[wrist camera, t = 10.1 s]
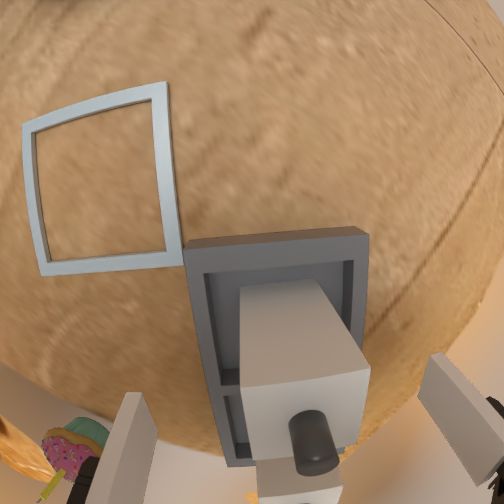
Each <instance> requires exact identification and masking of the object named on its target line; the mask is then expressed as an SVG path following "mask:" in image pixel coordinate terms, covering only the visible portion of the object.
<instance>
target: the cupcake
mask: <svg viewBox="0 0 504 504" xmlns="http://www.w3.org/2000/svg"><path fill="white" fill-rule="evenodd" d="M109 434H110V432H109V431H108V430H107V429H106V428H105V427H104V426H102V425H101V424H99V423H98V422H96V421H94V420H92V419H89V418H85V417H78V418H76V419H74V420H73V421H72V422H71V423H69V424H68V425H67V426H66V427H64V428H53V429H51V430H48V432H47V433H46V435H45V436H44V439H43V440H42V445H41V447H43V450H44V454H45V456H46V459H47V460H48V461H50V462H49V463H50V464H51V465H52V467H53V468H54V469H55V470H56V472H57V473H56V475H55V476H54V477H53V479H52V480H51V481H50V483H49V484H48V485H47V487H46V488H45V489H44V491H43V492H42V493H41V495H40V496H39V497H40V499H39V500H38V501H37V502H36V503H39V502H40V501H41V500H44V501H45V500H46V499H47V498H48V496H49V495H50V493H51V492H52V491H53V489H54V488H55V487H56V485H57V484H58V483H59V481H60V480H61V479H62V477H63V478H65V479H66V480H68V481H71V482H73V483H75V479H76V477H77V476H78V472H79V469H80V467H81V464H82V463H83V462H84V461H85V460H86V459H87V458H88V457H89V456H94V457H99V458H101V455H102V453H103V450H104V447H105V445H106V442H107V439H108V437H109Z"/></svg>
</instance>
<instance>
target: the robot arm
mask: <svg viewBox="0 0 504 504" xmlns="http://www.w3.org/2000/svg"><path fill="white" fill-rule="evenodd" d="M417 397H418V398H419V400H420V401H421V402H422V404H423V405H424V407H425V408H426V410H427V411H428V413H429V414H430V416H431V417H432V418H433V420H434V421H435V423H436V424H437V426H438V427H439V429H440V430H441V432H442V433H443V435H444V436H445V438H446V439H447V441H448V442H449V444H450V445H451V447H452V448H453V450H454V452H455V453H456V455H457V456H458V458H459V459H460V461H461V462H462V464H463V466H464V467H465V469H466V470H467V472H468V473H469V475H470V477H471V478H472V480H473V481H474V483H475V485H476V486H479V485H481V484H482V483H484V482H486V481H487V480H489V479H490V478H491V477H492V475H493V474H494V473H495V472H497V473H498V476H497V477H496V478H495V479H494V480H493V481H492V482H491V484H490V485H489V487H488V489H490V488H491V487H492V486H493V485H494V484H495V486H494V488H493V489H494V492H493V497H492V502H491V504H504V407H503V406H502V405H501V403H500V402H499V401H497V400H496V399H494V398H492V397H490V396H489V397H488V398H485V397H484V396H483V395H482V394H481V393H480V392H479V391H478V390H477V389H476V388H475V387H474V385H473V384H472V383H471V382H470V381H469V380H468V379H467V378H466V377H465V376H464V375H463V373H462V372H460V370H459V369H458V368H457V367H456V366H455V365H454V364H453V363H452V362H451V361H450V360H449V359H448V358H447V357H446V356H445V355H444V353H443V352H439V353H435V354H432V355H430V356H429V360H428V363H427V367H426V370H425V374H424V377H423V380H422V384H421V387H420V390H419V393H418V396H417ZM157 436H158V430H157V427H156V425H155V423H154V420H153V418H152V416H151V413H150V411H149V409H148V406H147V404H146V401H145V399H144V396H143V393H142V392H126V394H125V396H124V399H123V401H122V404H121V406H120V409H119V411H118V414H117V416H116V419H115V421H114V424H113V426H112V429H111V432H110V434H109V437H108V439H107V442H106V445H105V447H104V450H103V453H102V455H101V458H99V457H94V456H89V457H88V458H87V459H86V460H85V461H84V462H83V463H82V464H81V467H80V469H79V472H78V476H77V477H76V479H75V484H74V485H73V487H72V490H71V493H70V495H69V498H68V501H67V504H143V501H144V496H145V490H146V486H147V481H148V477H149V471H150V467H151V463H152V458H153V454H154V449H155V445H156V441H157Z"/></svg>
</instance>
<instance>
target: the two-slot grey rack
mask: <svg viewBox="0 0 504 504" xmlns="http://www.w3.org/2000/svg"><path fill="white" fill-rule="evenodd" d="M183 256H184V262H185V269H186V276H187V282H188V288H189V294H190V300H191V306H192V312H193V317H194V323H195V328H196V334H197V339H198V344H199V349H200V354H201V359H202V364H203V369H204V374H205V378H206V383H207V387H208V392H209V396H210V401H211V405H212V409H213V413H214V417H215V421H216V426H217V430H218V433H219V437H220V441H221V445H222V449H223V453H224V456H225V460H226V463H227V467H245V466H256V460H253V458H252V452H251V447H250V442H249V436H248V431H247V425H246V420H245V414H244V408H243V403H242V397H241V391H240V286H250V285H260V284H269V283H278V282H287V281H296V280H304V279H313V278H315V280H316V281H317V283H318V284H319V286H320V287H321V289H322V290H323V292H324V293H325V295H326V297H327V298H328V300H329V301H330V303H331V304H332V306H333V307H334V309H335V311H336V312H337V314H338V315H339V317H340V318H341V320H342V322H343V323H344V325H345V326H346V328H347V329H348V331H349V333H350V334H351V336H352V337H353V339H354V341H355V342H356V344H357V346H358V347H359V349H360V350H361V351H362V343H363V334H364V324H365V312H366V300H367V284H368V263H369V234H368V233H366V232H364V231H362V230H361V229H359V228H357V227H355V226H353V227H339V228H325V229H312V230H299V231H287V232H274V233H262V234H251V235H239V236H228V237H217V238H206V239H195V240H189V242H188V243H187V245H186V246H185V247H184V249H183ZM344 449H345V447H341V448H337V449H336V450H337V453H338V454H343V453H344Z"/></svg>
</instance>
